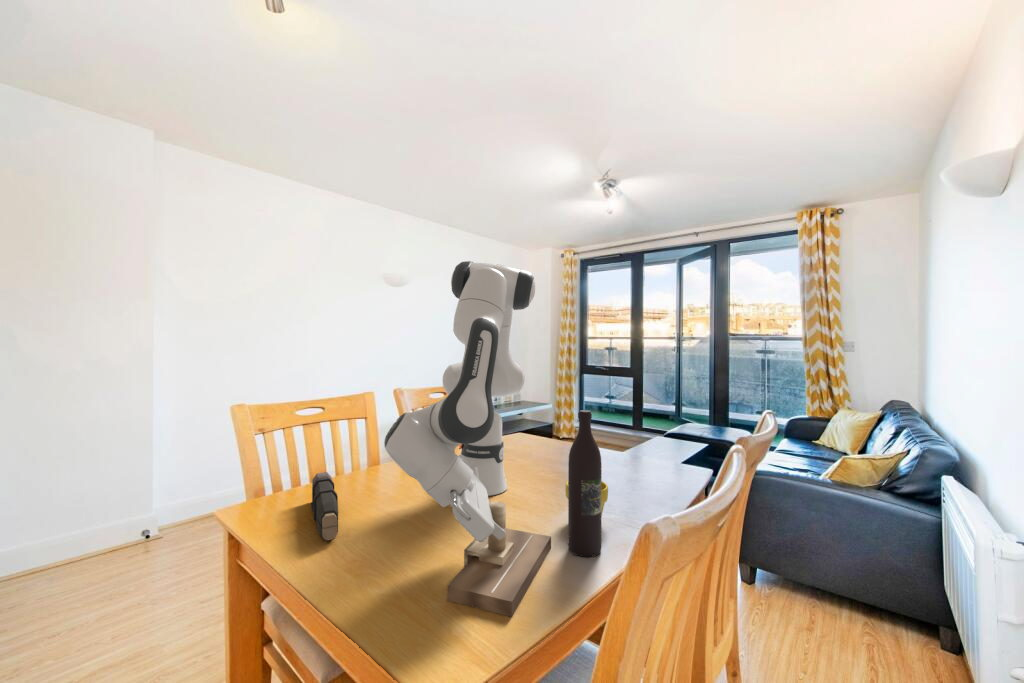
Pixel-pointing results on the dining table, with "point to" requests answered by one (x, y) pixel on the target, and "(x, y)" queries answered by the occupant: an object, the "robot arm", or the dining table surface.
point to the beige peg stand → (491, 541)
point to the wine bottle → (584, 491)
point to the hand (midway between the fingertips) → (501, 529)
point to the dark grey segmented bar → (325, 505)
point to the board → (501, 575)
